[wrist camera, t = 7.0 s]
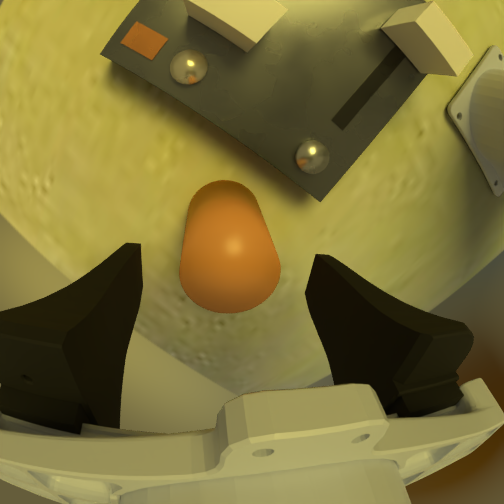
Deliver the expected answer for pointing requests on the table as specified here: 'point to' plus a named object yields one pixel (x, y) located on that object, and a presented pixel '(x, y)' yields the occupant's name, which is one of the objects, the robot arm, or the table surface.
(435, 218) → the table surface
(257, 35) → the block
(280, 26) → the breaker panel
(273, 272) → the cap
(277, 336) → the table surface
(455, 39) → the block
